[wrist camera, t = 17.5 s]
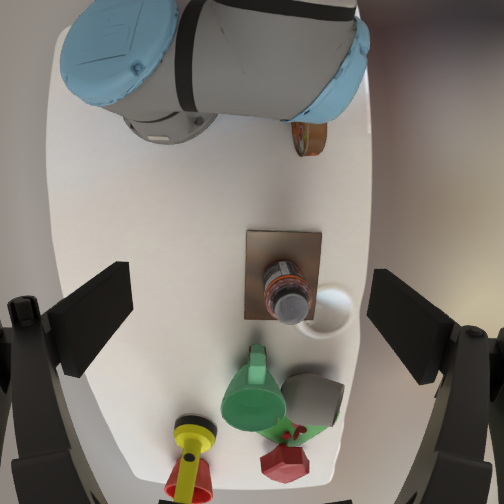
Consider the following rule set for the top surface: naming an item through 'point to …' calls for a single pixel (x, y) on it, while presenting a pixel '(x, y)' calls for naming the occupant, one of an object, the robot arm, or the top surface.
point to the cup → (312, 399)
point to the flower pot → (202, 483)
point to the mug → (253, 395)
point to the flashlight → (191, 451)
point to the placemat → (272, 250)
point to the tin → (309, 138)
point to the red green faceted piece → (287, 450)
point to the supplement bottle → (286, 292)
